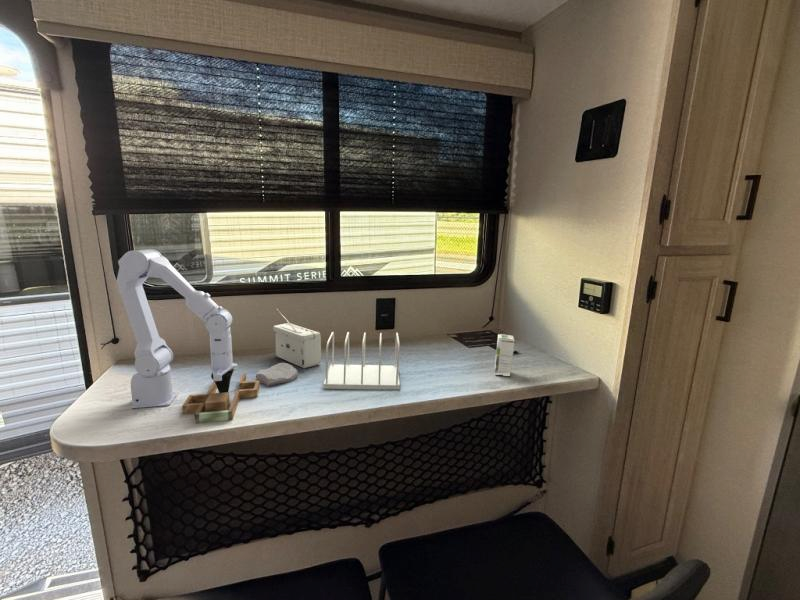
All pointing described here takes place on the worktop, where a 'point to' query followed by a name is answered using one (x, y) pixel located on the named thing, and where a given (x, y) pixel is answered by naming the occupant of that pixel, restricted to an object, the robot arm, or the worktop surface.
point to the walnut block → (217, 402)
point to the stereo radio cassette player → (297, 344)
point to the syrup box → (504, 353)
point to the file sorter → (361, 371)
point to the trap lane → (198, 407)
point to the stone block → (277, 374)
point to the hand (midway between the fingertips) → (224, 394)
